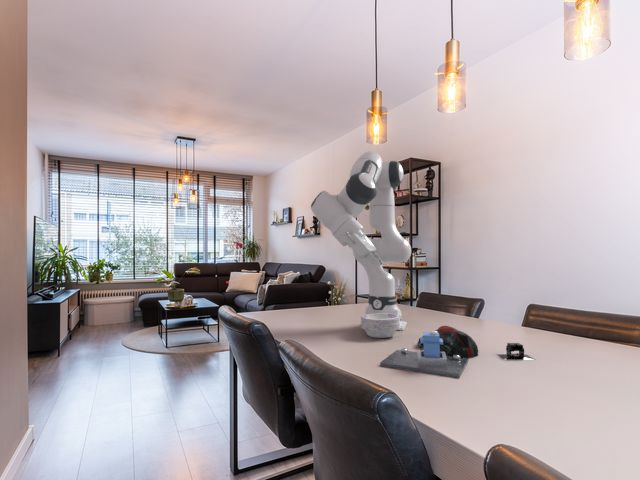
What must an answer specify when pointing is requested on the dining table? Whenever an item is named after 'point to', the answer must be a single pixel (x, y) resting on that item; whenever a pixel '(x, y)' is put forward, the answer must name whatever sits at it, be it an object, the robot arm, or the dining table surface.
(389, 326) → the paper bowls
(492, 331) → the dining table surface
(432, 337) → the block
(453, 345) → the drone shell
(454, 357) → the plate
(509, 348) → the black block with base
